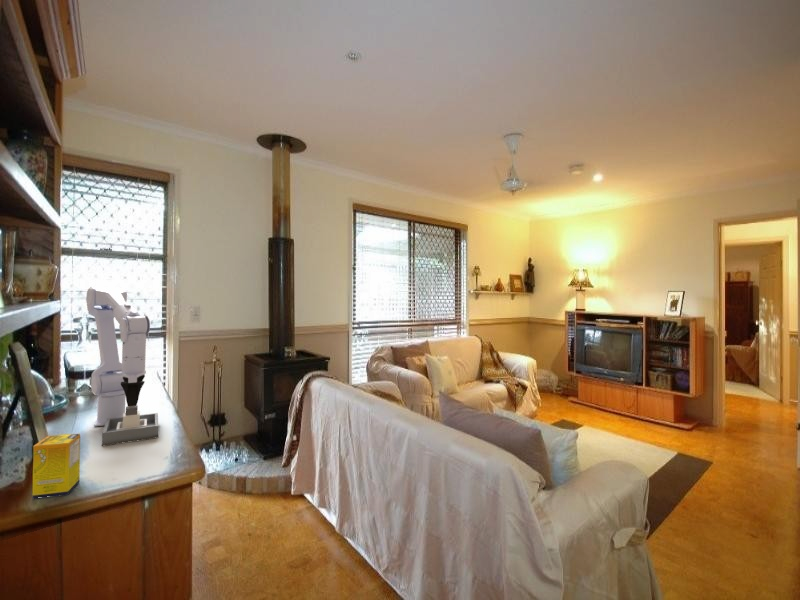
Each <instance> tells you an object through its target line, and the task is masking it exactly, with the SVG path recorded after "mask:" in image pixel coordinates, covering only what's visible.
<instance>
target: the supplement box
mask: <svg viewBox="0 0 800 600" xmlns="http://www.w3.org/2000/svg"><path fill="white" fill-rule="evenodd" d="M32 447H33V448H32V449H33V453H32V454H33V455H32V457H33V458H32V459H33V460H32V499H33V498H38V497H47V496H56V497H60V496H59V495H63V496H68V495H69V494H70V493H72V492H71V491H73V490H74V489H75V487H76V486H77V485H78V484H80V475H81V474H80V472H81V471H80V470H81V469H80V468H81V467H80V466H81V433H79V432H78V433H70V434H67V433H66V434H56V435H55V434H54V435H53V434H52V435H47V436H46V437H44V438H43V439H41V440H40V441H38V442H37V443H35V444H34V445H33V446H32Z"/></svg>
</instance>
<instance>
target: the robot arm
mask: <svg viewBox="0 0 800 600" xmlns="http://www.w3.org/2000/svg"><path fill="white" fill-rule="evenodd" d="M85 300H86V308H87V309H86V310H87V313H88V315H90V316H91V317H94V320H95V325H96V333H97V341H98V349H99V357H100V366H98V367H97V368H96V369H94V370H93V371H92V373H91V375H90V376H91V380H90V381H91V382H90V388H91V392H92V393H93V394H94V395H95V396H97V407H96V408H97V411H96V413H97V414H96V416H97V417H96V420H95V423H94V425H93V427H102V426H105V423H106V420H107V419H110V418H119V417H123V414H124V413H126V406H136V405H138V401H139V397H140V393H141V390H142V388H143V386H144V384H145V381H144V379H145V377H146V374H147V373H146V372H147V370H146V349H147V347H146V346H147V345H146V344H147V335H148V334H149V333H150V329H151V320H150V318H149V316H148V315H141V314H140V313H139V311H138V310H137V309H136V308H135V307H134V306H133V304H131V303H127V301H128V294H127V290H126V289H125V288H124V287H95V286H90V287H89V288H88V289H87V291H86V299H85ZM114 320H116V321H117V323H118V325H119V327H118V329H119V333H120V342H122V345H121V346H122V347H121V349H122V350H121V351H122V352H121V353H122V354H121V362H120V357H119V355H120V354H119V349H118V343H117V341H118V340H117V336H116V335H117V334H116V328H115V321H114Z"/></svg>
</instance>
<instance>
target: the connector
mask: <svg viewBox="0 0 800 600" xmlns="http://www.w3.org/2000/svg"><path fill="white" fill-rule="evenodd" d="M140 415H141V411H138V404H137V405H136V406H128V405H126V406H125V413H124V414H123V428H127V427H135V426H139V425H140Z"/></svg>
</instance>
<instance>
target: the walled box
mask: <svg viewBox="0 0 800 600" xmlns="http://www.w3.org/2000/svg"><path fill="white" fill-rule="evenodd" d="M159 425H160V424H159V414H158V412H155V413H146V414H140V425H139V426H135V427H127V428H123V417H119V418H110V419H107V420H106V423H105V425H104V427H103V429H102V430H103V431H102V434H101V446H102V447H103V445H105V446H111V445H110V444H112V445H117V444H116V443H119V444H123V443H122V442H125V443H129V442H128V441H132V442H138V441H137V440H139V441H143V440H142V439H146V440H150V439H149V438H153V439H156V438H155V437H158V438H159Z"/></svg>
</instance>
